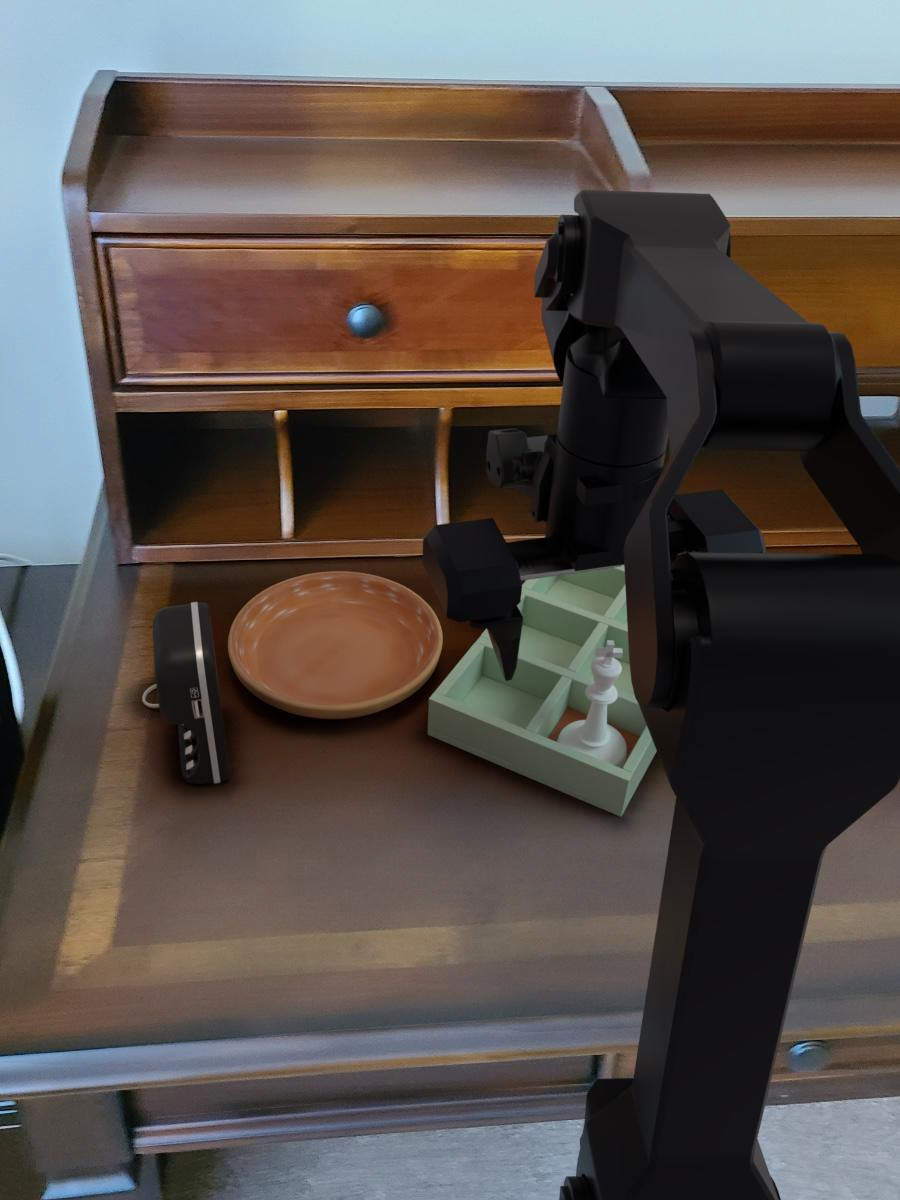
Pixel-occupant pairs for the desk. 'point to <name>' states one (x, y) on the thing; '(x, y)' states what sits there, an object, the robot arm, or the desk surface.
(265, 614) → the saucer
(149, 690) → the ring
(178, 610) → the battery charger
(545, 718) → the compartment tray
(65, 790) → the desk surface
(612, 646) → the chess piece
